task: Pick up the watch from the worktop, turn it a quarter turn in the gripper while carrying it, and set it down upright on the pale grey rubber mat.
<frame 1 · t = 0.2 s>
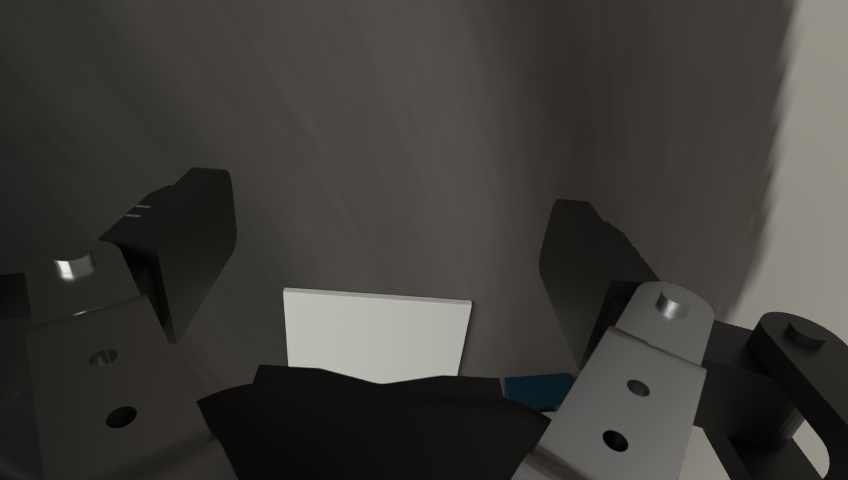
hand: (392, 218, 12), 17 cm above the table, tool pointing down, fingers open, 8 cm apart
mat: (373, 375, 40), on the table
watch: (535, 390, 42), on the table
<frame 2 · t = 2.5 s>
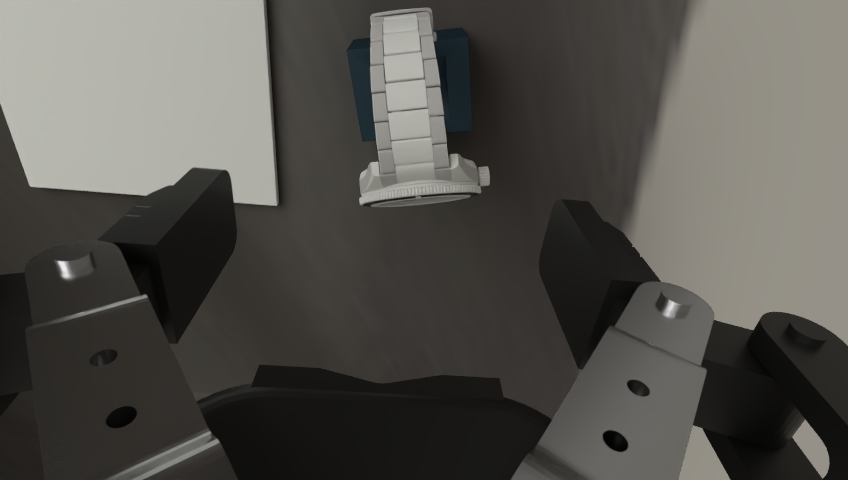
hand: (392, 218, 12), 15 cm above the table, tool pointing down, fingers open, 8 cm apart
mat: (126, 29, 24), on the table
watch: (413, 78, 25), on the table
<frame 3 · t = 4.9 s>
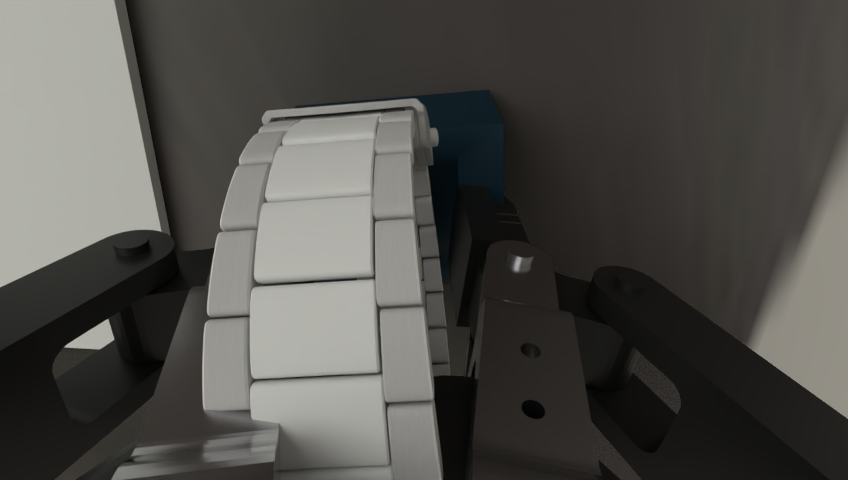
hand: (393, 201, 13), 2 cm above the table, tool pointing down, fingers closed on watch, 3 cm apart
watch: (402, 169, 15), on the table, touching gripper
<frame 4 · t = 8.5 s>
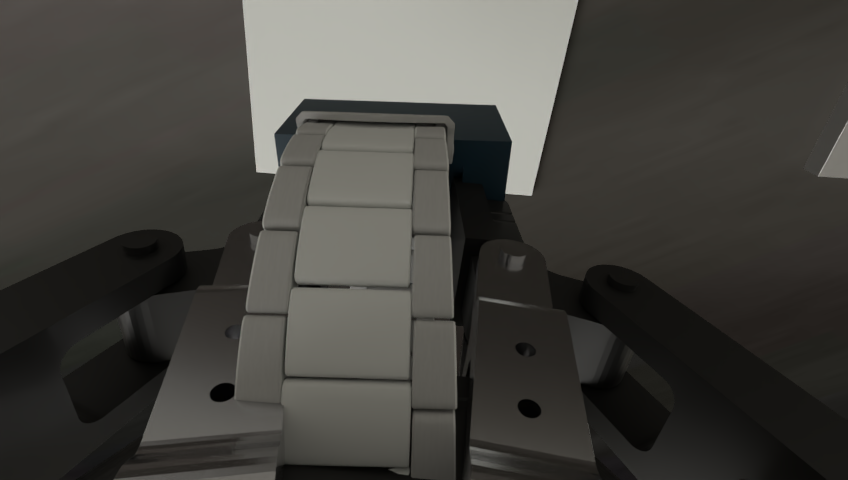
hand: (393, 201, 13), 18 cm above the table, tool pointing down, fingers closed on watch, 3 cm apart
mat: (405, 71, 28), on the table
watch: (401, 172, 15), point 15 cm above the table, touching gripper
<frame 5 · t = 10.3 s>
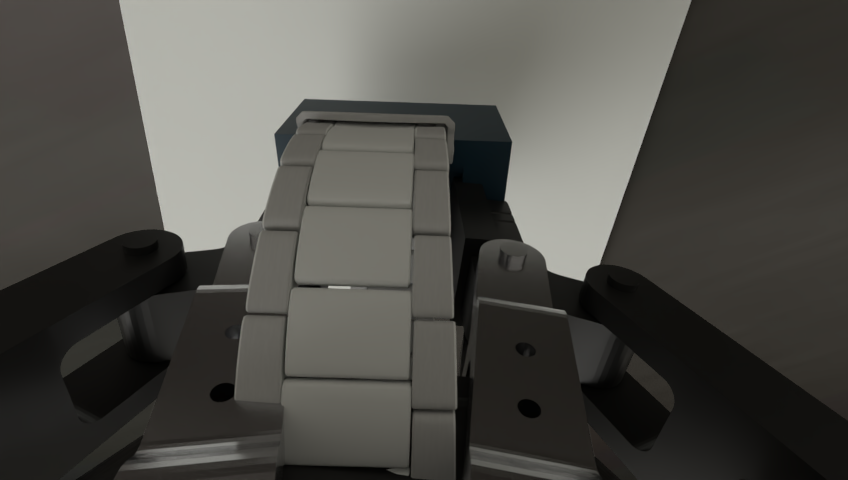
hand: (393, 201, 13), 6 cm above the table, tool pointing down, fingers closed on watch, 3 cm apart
mat: (398, 135, 18), on the table
watch: (401, 172, 15), point 3 cm above the table, touching gripper
when the fingers open (4 cm above the table, at t = 11.6 s): watch moves 3 cm, resting on mat.
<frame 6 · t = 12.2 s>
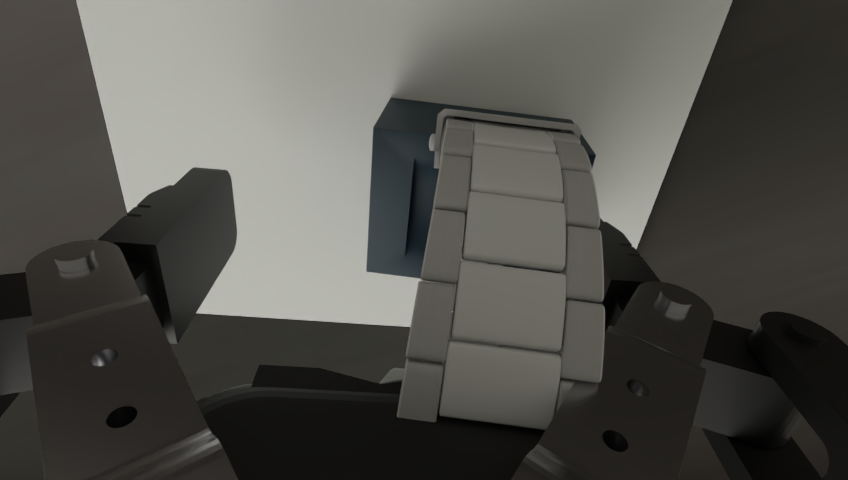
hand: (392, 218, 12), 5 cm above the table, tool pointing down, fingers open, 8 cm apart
mat: (397, 154, 16), on the table
watch: (471, 175, 16), point 1 cm above the table, touching gripper, mat
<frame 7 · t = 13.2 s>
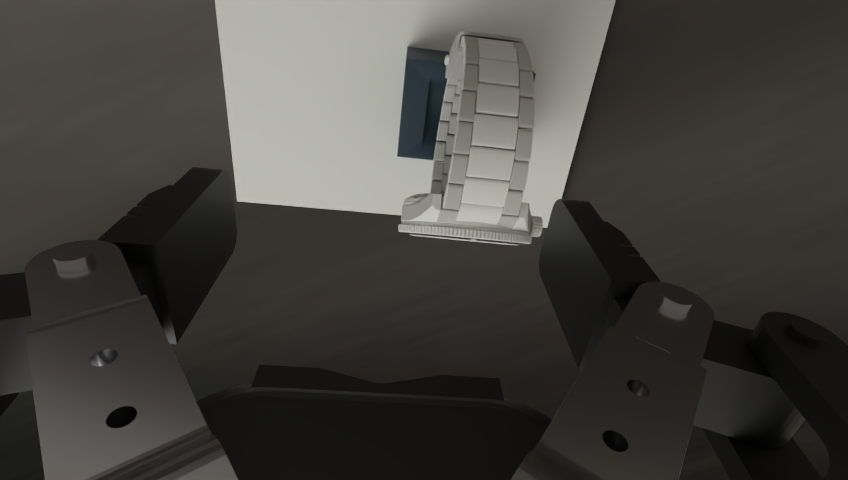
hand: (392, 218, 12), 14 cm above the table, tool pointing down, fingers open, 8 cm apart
mat: (408, 87, 24), on the table
watch: (458, 100, 24), resting on mat
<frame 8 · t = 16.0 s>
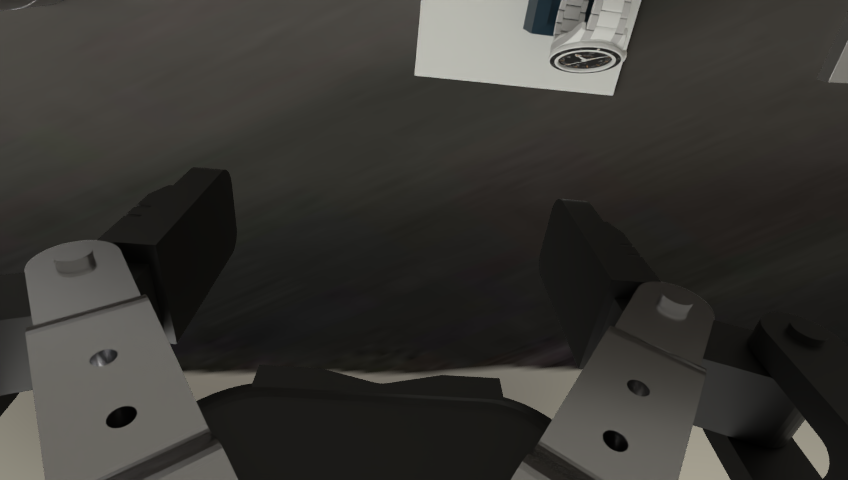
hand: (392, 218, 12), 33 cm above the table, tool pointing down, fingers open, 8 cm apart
watch: (561, 5, 39), resting on mat
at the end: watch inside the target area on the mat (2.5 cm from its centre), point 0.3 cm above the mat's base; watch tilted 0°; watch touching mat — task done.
